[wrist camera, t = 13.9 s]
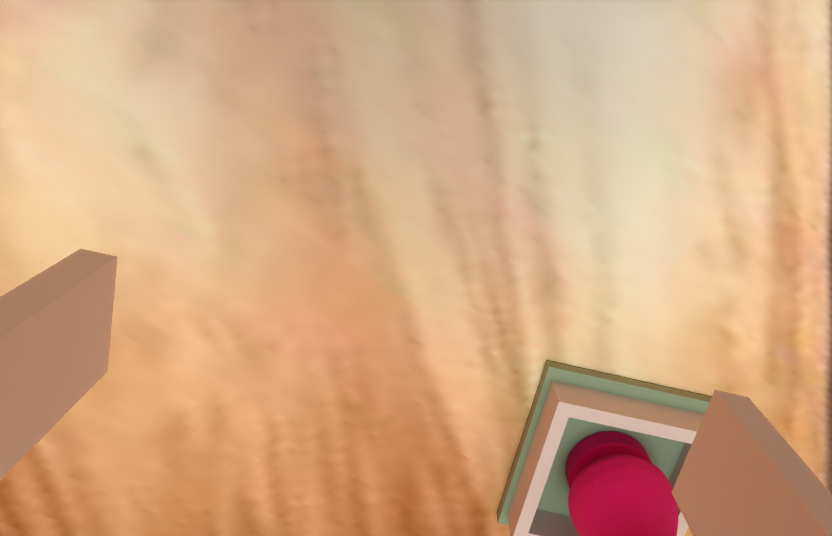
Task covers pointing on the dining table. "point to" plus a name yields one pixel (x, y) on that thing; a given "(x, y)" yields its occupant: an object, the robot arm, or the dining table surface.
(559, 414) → the deck socket
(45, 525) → the dining table surface
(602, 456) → the pepper mill
